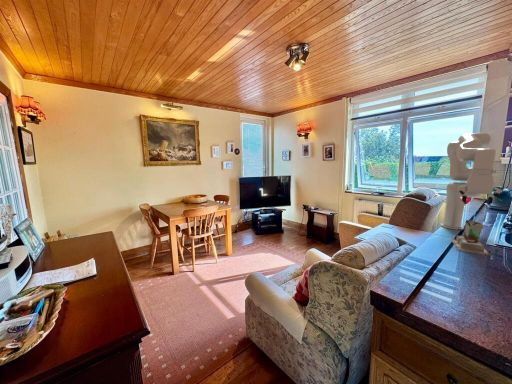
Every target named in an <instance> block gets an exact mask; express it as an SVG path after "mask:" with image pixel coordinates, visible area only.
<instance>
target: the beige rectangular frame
mask: <svg viewBox="0 0 512 384" xmlns="http://www.w3.org/2000/svg"><path fill="white" fill-rule="evenodd" d="M451 240H452V241H451V242H452V243H453V245H454V247H455V249H456V250H457V251H461V252H467V253H472V254H473V253H474V254H478V255H484V256H489V255H490V253H489V252H488V251H487V249H485V245H484V244H483V243H482V241H480V240H478V243H468V242H466V240H465V238H464V235H458V234H457V235H456V239H455V238H452V239H451Z"/></svg>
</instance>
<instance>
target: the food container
mask: <svg viewBox="0 0 512 384" xmlns="http://www.w3.org/2000/svg"><path fill="white" fill-rule="evenodd" d="M464 223H465V224H464V233H463V236H464V238H465V240H466V242H468V243H478V240H479V239H480V236H481V233H482V230H483V229H484V224H483V223H481V222H479V221H475V220H471V219H466V220H465V222H464ZM479 241H480V240H479Z"/></svg>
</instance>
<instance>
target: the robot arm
mask: <svg viewBox="0 0 512 384" xmlns="http://www.w3.org/2000/svg"><path fill="white" fill-rule="evenodd" d="M491 139H492V138H491V135H490V134H489V133H488V132H467V133H464V134H462V135H460V136H459V137H458V140H455V141H451V142H449V143H448V145H447V147H446V154H447V157H448V159H449V179H450V180H451V181H453V182H450V183H448V184H447V185H446V188H445V189H446V191H445V192H446V198H445V201H446V202H445V208H444V216H443V222H440V224H439V225H440V227H442V228H445V229H448V230H449V229H450V230H454V231H455V230H457V231H459V230H458V229H461V230H465V226H463V225H462V224H463V223H462V222H463V215H464V209H465V204H466V203H467V198H479V197H480V196H481V194H482V195H488V197H487V201H486V205H488V206H491V205H492V204H493V201H494V198H495V197H497V196H499V194H501V193H502V192H503V190H502V189H500V188H498V187H496V186H494V175H493V174H496V173H497V170H494V164H495V160H496V153H497V151H496V149H495V148H489V147H488V146H489V145H490V143H491ZM472 162H473V163H472ZM467 163H472V167H468V166H467ZM494 190H495V191H496V192H494ZM493 192H494V193H493ZM461 230H460V231H461Z"/></svg>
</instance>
